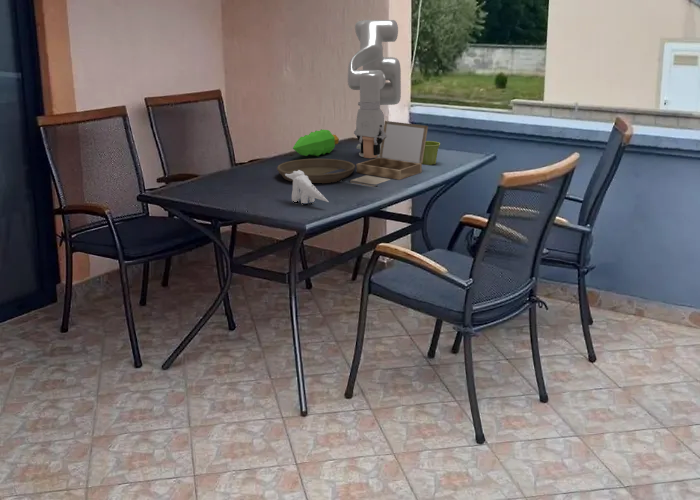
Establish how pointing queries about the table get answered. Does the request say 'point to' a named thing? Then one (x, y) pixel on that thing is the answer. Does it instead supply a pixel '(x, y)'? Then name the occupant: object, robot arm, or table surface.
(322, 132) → the decorative tree
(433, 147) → the plant pot
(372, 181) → the sandstone tile
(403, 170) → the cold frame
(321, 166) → the plant saucer
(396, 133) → the lid
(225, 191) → the table surface
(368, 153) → the tan rounded knob
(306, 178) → the dinosaur statue
